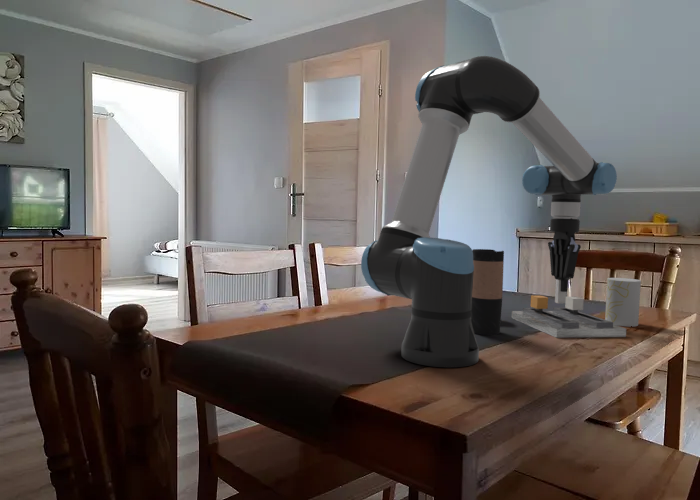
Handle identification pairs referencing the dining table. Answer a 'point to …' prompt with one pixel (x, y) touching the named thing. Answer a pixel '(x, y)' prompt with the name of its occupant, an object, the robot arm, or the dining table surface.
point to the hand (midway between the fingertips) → (560, 302)
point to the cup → (623, 301)
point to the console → (568, 323)
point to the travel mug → (487, 291)
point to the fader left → (539, 303)
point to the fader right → (574, 304)
